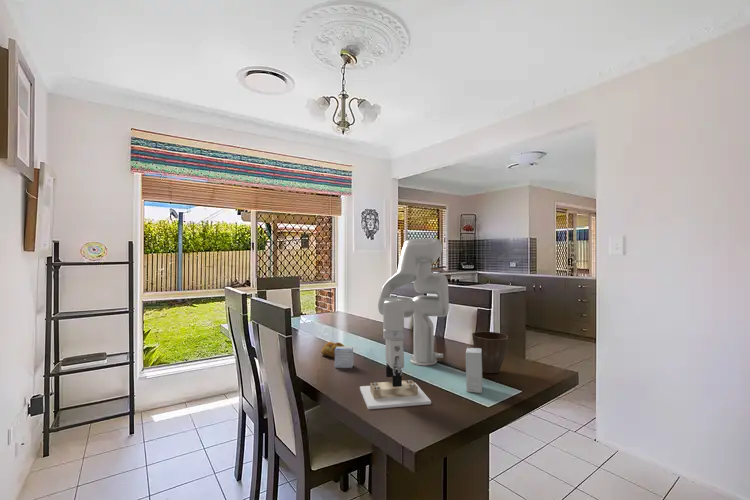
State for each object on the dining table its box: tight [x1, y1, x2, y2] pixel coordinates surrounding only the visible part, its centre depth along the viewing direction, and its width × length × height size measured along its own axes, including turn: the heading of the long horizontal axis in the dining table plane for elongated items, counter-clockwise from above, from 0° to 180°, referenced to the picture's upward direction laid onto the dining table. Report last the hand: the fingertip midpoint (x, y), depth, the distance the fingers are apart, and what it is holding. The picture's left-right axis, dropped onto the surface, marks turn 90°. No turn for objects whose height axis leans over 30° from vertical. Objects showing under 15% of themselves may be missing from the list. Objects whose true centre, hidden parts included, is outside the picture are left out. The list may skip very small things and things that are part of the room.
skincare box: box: [465, 347, 484, 394], centre depth 136 cm, size 8×6×15 cm
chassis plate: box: [359, 379, 432, 410], centre depth 129 cm, size 22×18×4 cm
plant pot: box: [471, 331, 509, 374], centre depth 156 cm, size 15×15×16 cm
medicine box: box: [334, 346, 354, 369], centre depth 163 cm, size 8×4×9 cm, turn 84°
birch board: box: [369, 379, 418, 399], centre depth 129 cm, size 16×7×3 cm, turn 101°
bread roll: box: [320, 341, 346, 359], centre depth 180 cm, size 13×10×8 cm
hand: (393, 381), depth 129 cm, fingers open, 9 cm apart
